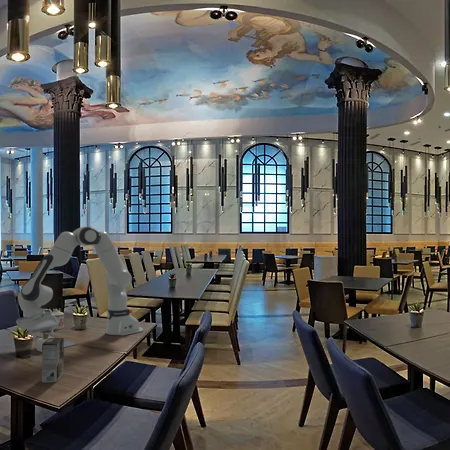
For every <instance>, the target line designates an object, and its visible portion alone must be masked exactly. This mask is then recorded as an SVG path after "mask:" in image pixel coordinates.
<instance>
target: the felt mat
mask: <svg viewBox="0 0 450 450" xmlns="http://www.w3.org/2000/svg"><path fill="white" fill-rule="evenodd" d="M77 345H78V343H76V342H72V341H69V340H66V341H65V340H64V348H68V347H72V346H77Z"/></svg>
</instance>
